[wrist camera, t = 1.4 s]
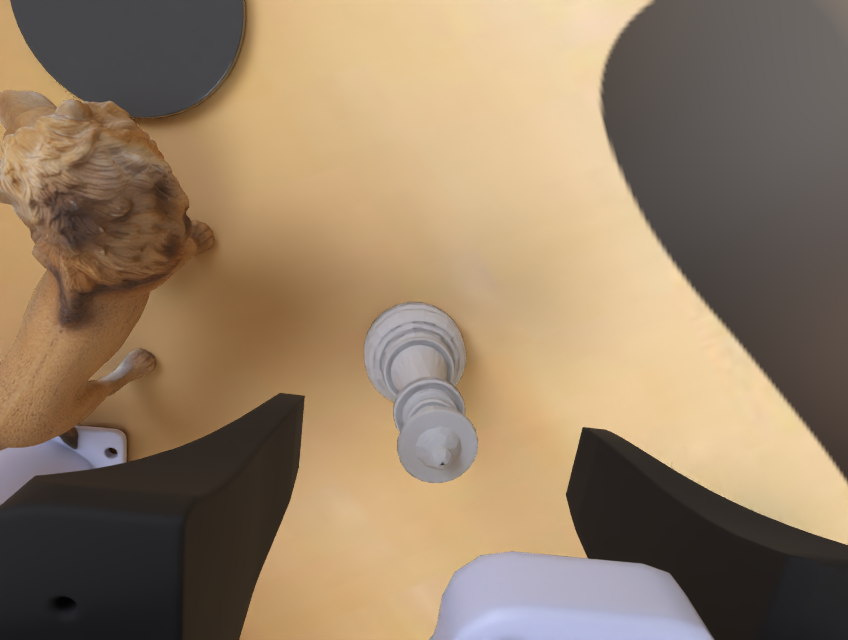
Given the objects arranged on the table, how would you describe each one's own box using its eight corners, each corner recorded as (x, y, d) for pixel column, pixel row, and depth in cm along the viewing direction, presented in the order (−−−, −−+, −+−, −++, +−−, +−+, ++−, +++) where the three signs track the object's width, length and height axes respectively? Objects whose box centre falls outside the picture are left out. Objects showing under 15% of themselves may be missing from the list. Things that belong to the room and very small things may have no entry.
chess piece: (480, 356, 25) (551, 474, 15) (402, 412, 25) (424, 561, 15) (424, 280, 24) (462, 355, 14) (343, 340, 24) (326, 452, 14)
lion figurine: (114, 91, 21) (-68, 34, 12) (251, 150, 22) (174, 136, 13) (21, 423, 24) (-180, 569, 15) (144, 461, 25) (24, 617, 16)
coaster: (239, 133, 21) (237, 133, 21) (18, 100, 20) (11, 98, 20) (252, -102, 19) (250, -107, 19) (7, -153, 18) (0, -160, 18)
